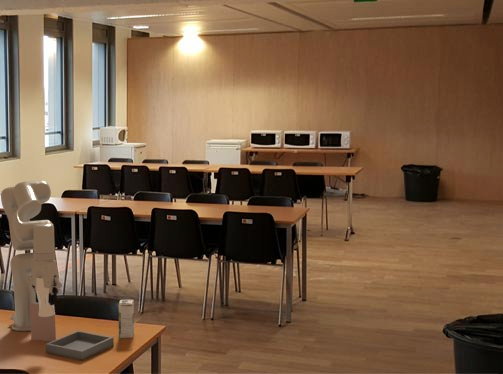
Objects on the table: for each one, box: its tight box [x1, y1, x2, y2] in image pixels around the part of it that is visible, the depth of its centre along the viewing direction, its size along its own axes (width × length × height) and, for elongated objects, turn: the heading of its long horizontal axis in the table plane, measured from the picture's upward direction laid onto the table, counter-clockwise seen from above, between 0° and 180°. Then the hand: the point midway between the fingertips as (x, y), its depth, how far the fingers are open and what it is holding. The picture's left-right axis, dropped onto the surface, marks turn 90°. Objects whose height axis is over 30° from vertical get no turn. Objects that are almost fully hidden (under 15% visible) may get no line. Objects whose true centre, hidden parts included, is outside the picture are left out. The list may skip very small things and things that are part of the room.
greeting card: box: [30, 303, 57, 342], centre depth 288 cm, size 11×7×15 cm, turn 37°
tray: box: [45, 330, 115, 361], centre depth 277 cm, size 18×18×4 cm
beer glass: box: [36, 277, 56, 317], centre depth 271 cm, size 7×7×15 cm
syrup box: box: [118, 299, 135, 339], centre depth 292 cm, size 6×6×14 cm
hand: (46, 302), depth 272 cm, fingers closed on beer glass, 6 cm apart
